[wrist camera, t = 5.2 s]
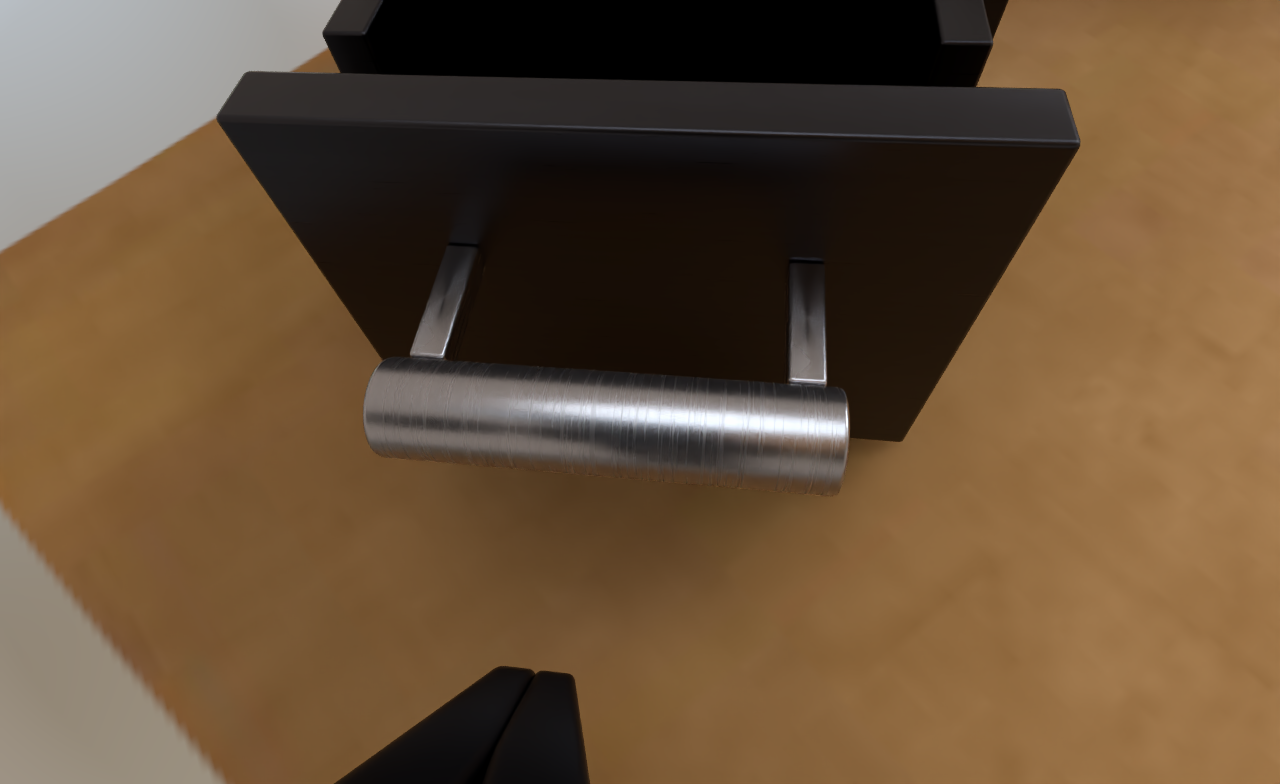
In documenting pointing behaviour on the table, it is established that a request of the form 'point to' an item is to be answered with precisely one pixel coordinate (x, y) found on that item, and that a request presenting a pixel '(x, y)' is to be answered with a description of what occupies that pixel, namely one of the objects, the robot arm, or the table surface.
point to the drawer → (655, 222)
